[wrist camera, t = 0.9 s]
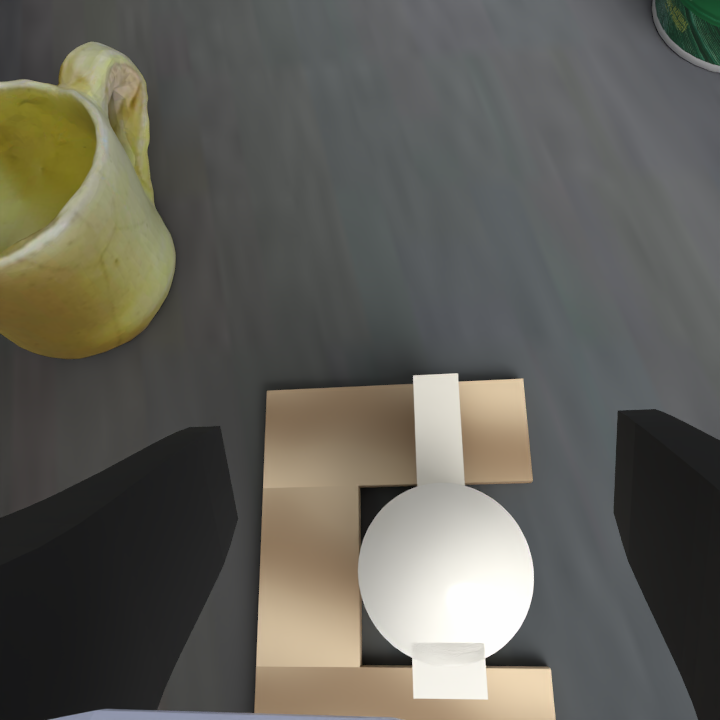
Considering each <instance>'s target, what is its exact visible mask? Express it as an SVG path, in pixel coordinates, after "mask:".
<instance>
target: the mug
mask: <svg viewBox="0 0 720 720" xmlns="http://www.w3.org/2000/svg"><path fill="white" fill-rule="evenodd" d="M147 101H148V95H147V88H146V82H145V80H144V78H143V76H142V74H141V73H140V71H139V70H138V69H137V67H136V66H135V65H134V64H133V62H132V61H131V60H130V59H129V58H128V57H127V56H125V55H124V54H122V53H121V52H119V51H117V50H115V49H113V48H110V47H108V46H106V45H104V44H101V43H97V42H88V43H86V44H84V45H81V46H79V47H77V48H76V49H75V50H73V51H72V52H71V53H69V54H68V55H67V57H66V58H65V60H64V62H63V63H62V65H61V67H60V72H59V84H58V85H57V86H56V85H52V84H48V83H41V82H36V81H32V80H26V79H20V80H14V81H7V82H0V333H1V334H2V335H3V336H5V337H6V338H8V339H9V340H11V341H12V342H14V343H15V344H17V345H18V346H20V347H21V348H24V349H26V350H28V351H30V352H33V353H36V354H39V355H43V356H47V357H53V358H61V359H80V358H85V357H89V356H92V355H96V354H99V353H103V352H106V351H108V350H110V349H113V348H115V347H118V346H120V345H122V344H124V343H126V342H129V341H131V340H132V339H133V338H134V337H136V336H137V335H138V334H140V333H141V332H142V331H143V330H145V329H146V328H147V326H148V325H149V323H150V322H151V320H152V319H153V317H154V316H155V314H156V313H157V312H158V310H159V309H160V307H161V305H162V303H163V302H164V300H165V299H166V297H167V295H168V293H169V290H170V287H171V284H172V280H173V276H174V272H175V264H176V253H175V248H174V244H173V240H172V237H171V235H170V233H169V231H168V229H167V228H166V226H165V224H164V222H163V220H162V218H161V217H160V215H159V213H158V212H157V210H156V208H155V204H154V193H153V187H152V183H151V179H150V169H149V160H148V154H147V150H148V145H149V138H150V134H149V117H148V111H147Z"/></svg>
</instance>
